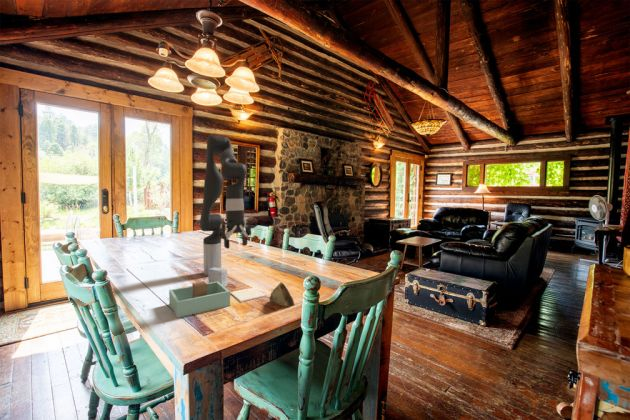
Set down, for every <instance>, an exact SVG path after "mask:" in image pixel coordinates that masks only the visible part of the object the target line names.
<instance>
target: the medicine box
mask: <svg viewBox="0 0 630 420" xmlns="http://www.w3.org/2000/svg"><path fill="white" fill-rule="evenodd" d="M207 278H208V280H207V283H211V282H217V281H219V282H220V283H221V284H222V285H223V286H224V287H225V288H227V287H228V269H227V268H222V267H221V268H215V267H214V268H211V269H209V270H208V277H207Z"/></svg>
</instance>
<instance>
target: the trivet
mask: <svg viewBox="0 0 630 420" xmlns="http://www.w3.org/2000/svg"><path fill="white" fill-rule="evenodd" d="M230 295H232V296H233V297H234V298H235V299H237V301H239V302H240V303H243V302H248V301H252V300H256V299H261V298H265V297H267V294H266V293H264V291H263V292H262V290H260V289H259V288H257V287H255V286H254V287H248V288H244V289H239V290H235V291H230Z"/></svg>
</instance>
